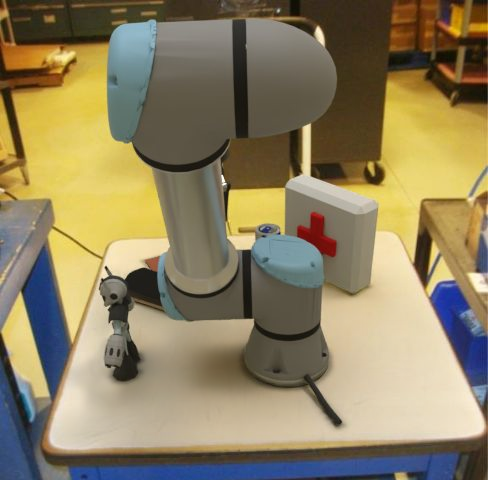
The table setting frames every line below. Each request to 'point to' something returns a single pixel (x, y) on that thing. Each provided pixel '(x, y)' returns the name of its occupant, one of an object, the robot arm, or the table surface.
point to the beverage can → (266, 230)
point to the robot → (119, 328)
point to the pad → (153, 263)
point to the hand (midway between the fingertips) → (215, 248)
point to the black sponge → (144, 287)
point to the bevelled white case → (334, 228)
